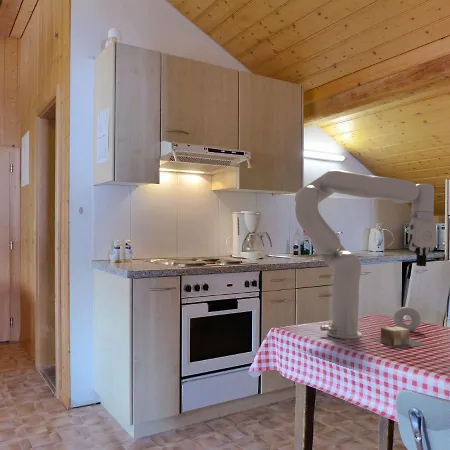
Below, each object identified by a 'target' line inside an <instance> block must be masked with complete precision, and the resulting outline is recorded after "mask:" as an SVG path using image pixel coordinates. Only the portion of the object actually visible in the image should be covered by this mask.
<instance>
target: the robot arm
mask: <svg viewBox="0 0 450 450" xmlns="http://www.w3.org/2000/svg"><path fill="white" fill-rule="evenodd" d="M334 193H337V194H341V195H342V194H343V195H347V196H348V195H349V196H354V197H358V198H365V199H367V198H368V199H371V198H372V199H373V198H381V199H382V198H384V199H390V200H391V201H392V202H393V203H396V204H407V203H408V204H409V203H411V213H410V214H409V217H410V218H411V220H410V222H409V226H408V234H407V243H408V246H409V247H408V250H409V251H412V252H414V254H415V256H416V266H417V267H426V266H427V257H428V255H429V253H430V252H432V251H434V250H435V248H436V247H437V246H438V245H437V244H438V231H437V230H438V229H437V225H436V224H437V223H436V220H434V211H435V210H434V206H435V205H434V204H435V187H434V185H433V184H429V183H417V184H416V183H415V182H413V181H411V180H404V179H401V178H400V179H399V178H394V177H384V176H379V175H378V176H377V175H369V174H368V175H367V174H364V173H363V174H362V173H357V172H351V171H346V170H341V169H330V170H328V171H327V172H324V174H322V175H321V176H319V177H318V178H316V179H314V180H313V181H312V182H310V183H308V184H307V185H304V186H303V187H301V188H300V189H299V190H297V191H296V193H295V195H294V201H295V206H294V207H295V208H294V211H295V218H296V221H297V222H298V224H299V226H300V228H302V230H303V231H304V233H306V235H307V236H308V238H309V239H310V240H311V246H312V247H313V250H314V251H315V253H317V255H318V256H319V257H320V258H321V259H322V261H323V262H324V263H325V264H326V266H327V267H329V269H330V271H332V272H333V279H332V280H333V281H332V303H331V304H332V305H331V308H332V309H331V310H332V311H331V322H330V321H329V322H328V323H329V324H327V325H320V327H319V328H320V329H319V330H320V331H321V332H325V331H327V332H326V334H327V335H328V336H329V337H332V338H336V339H342V340H343V339H344V340H353V339H354V340H357V339H360V338H362V337H363V334H362V332H360V331H359V300H360V299H359V296H360V295H359V293H360V292H359V291H360V279H361V272H362V264H361V263H362V262H361V260H360V258H359V257H358V256H357V254H355V253H353V252H351V251H347V250H346V248H345V247H344V246H343V245H342V244H341V239H340V237H339V235H338V234H337V232H336V231H334V229H332V227H331V226H330V225H329V224H328V223H327V222H326V220H325V219H324V217H323V216H322V215H321V213H320V211H319V203H320V202H322V201H324V200H325V199H327V198H329V197H330V196H332V195H333V194H334Z"/></svg>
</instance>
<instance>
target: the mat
mask: <svg viewBox="0 0 450 450" xmlns="http://www.w3.org/2000/svg"><path fill="white" fill-rule="evenodd" d="M372 340H373V341H376V342H379V343H380V344H381V343H382V344H384V345H387V346H389V347H391V348H406V347H418V346H419V347H420V346H427V344H425V343H423V342H420V341H417V340H413V339H410V338H409V344H402V345H388V344H385V343H383V342H381V337H378V338H377V337H376V338H372Z"/></svg>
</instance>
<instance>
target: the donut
mask: <svg viewBox="0 0 450 450" xmlns="http://www.w3.org/2000/svg"><path fill="white" fill-rule="evenodd" d="M405 316H409V317H410V319H411V321H410V322H405V321H404V320H403V319H404V317H405ZM393 323H394V325H395V327H402V328H405V329H409V333H410V332H414V331H416V330H417V329H418V328H419V326H420V325H421V315H420V314H419V312H418V311H417V310H416V309H415V308H413V307H411V306H402V307H399V308H398V309H397V310H396V311H395V312H394V315H393Z"/></svg>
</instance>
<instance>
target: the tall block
mask: <svg viewBox="0 0 450 450" xmlns="http://www.w3.org/2000/svg"><path fill="white" fill-rule="evenodd" d="M380 338H381V342H383V343H385V344H384V345H386V344H388V345H387V346H389V345H402V344H409V339H410V332H409V329H405V328H402V327H397V326H387V327H381V328H380ZM381 342H380V343H381ZM383 343H382V344H383Z"/></svg>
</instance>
